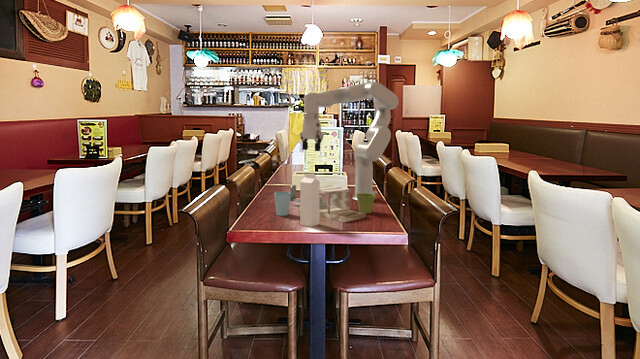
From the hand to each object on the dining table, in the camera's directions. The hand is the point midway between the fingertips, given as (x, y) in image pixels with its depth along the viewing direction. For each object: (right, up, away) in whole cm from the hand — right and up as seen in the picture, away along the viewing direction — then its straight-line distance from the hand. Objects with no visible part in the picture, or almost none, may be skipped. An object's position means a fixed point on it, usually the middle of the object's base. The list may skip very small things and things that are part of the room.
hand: (311, 150), depth 241 cm
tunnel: (+9, -32, -19) cm, 38 cm away
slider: (-3, -27, -6) cm, 28 cm away
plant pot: (+27, -31, -16) cm, 44 cm away
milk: (0, -35, -40) cm, 53 cm away
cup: (-13, -32, -21) cm, 41 cm away
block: (+2, -28, -12) cm, 31 cm away
